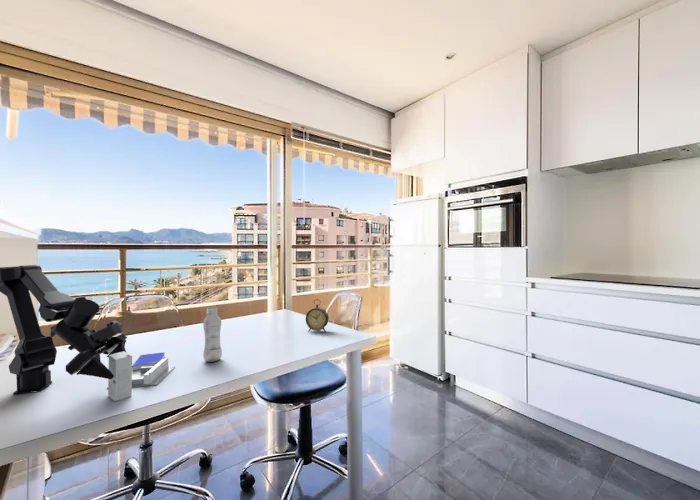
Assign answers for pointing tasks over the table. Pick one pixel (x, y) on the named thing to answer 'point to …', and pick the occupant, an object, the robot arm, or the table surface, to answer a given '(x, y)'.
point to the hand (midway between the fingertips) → (122, 370)
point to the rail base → (141, 375)
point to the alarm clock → (317, 318)
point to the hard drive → (148, 360)
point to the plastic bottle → (212, 335)
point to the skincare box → (120, 376)
